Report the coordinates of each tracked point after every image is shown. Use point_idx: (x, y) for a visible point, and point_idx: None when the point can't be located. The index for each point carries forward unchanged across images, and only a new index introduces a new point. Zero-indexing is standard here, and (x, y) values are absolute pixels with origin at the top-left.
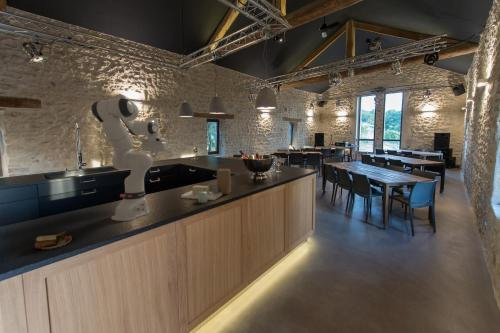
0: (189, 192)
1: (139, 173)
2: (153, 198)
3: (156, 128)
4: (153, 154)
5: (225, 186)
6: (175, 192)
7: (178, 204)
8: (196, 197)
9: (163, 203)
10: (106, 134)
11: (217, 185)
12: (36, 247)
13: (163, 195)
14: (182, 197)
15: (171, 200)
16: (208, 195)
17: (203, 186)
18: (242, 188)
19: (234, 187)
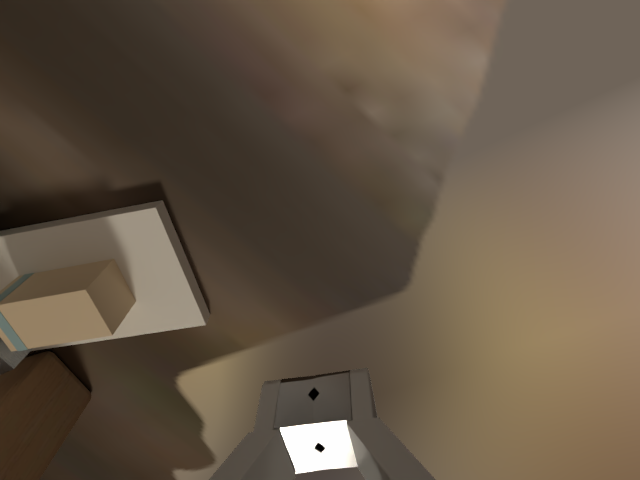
0: (173, 285)
1: None
2: (331, 94)
3: None
4: (356, 448)
5: None
6: (314, 284)
7: (19, 53)
8: (45, 225)
9: (136, 17)
10: None
11: (12, 392)
12: None
13: (329, 193)
14: (152, 203)
15: (160, 115)
16: (2, 277)
17: (30, 329)
18: (51, 468)
19: (102, 470)
